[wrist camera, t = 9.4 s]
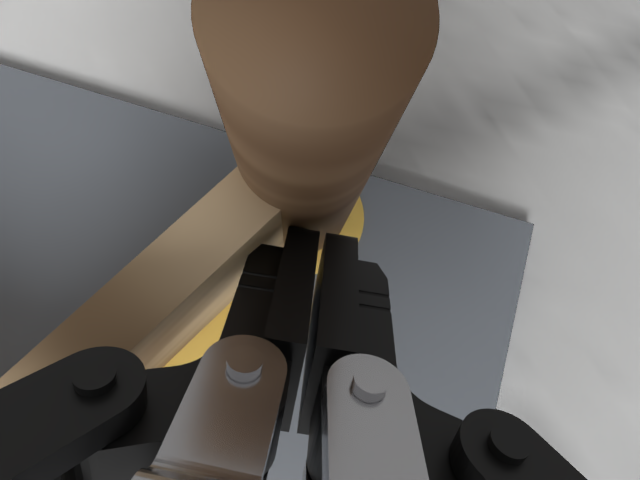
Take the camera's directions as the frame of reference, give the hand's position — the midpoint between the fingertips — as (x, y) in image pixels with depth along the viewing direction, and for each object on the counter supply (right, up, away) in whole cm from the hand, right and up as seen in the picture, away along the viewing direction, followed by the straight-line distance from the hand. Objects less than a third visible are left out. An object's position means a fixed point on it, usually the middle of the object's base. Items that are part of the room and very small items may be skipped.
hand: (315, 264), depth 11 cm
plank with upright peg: (-4, -2, +2) cm, 5 cm away
